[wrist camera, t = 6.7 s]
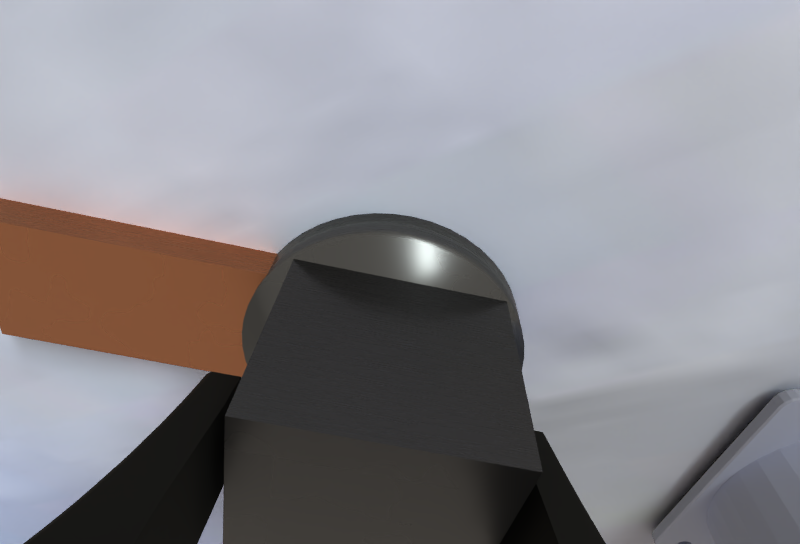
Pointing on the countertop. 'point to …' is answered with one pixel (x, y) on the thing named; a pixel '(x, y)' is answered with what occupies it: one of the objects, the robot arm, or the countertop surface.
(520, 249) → the countertop surface
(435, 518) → the dark grey cube
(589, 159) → the countertop surface
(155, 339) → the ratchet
